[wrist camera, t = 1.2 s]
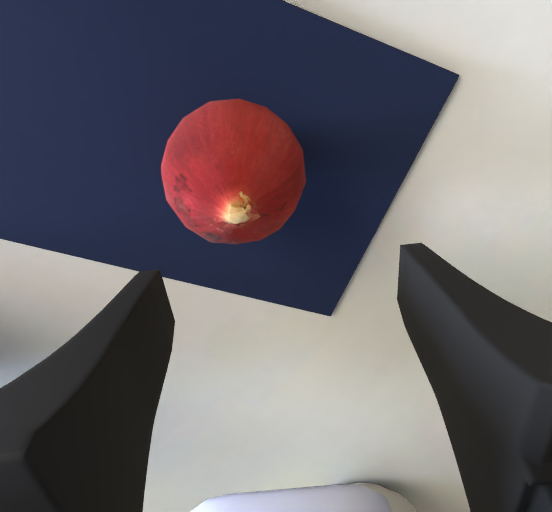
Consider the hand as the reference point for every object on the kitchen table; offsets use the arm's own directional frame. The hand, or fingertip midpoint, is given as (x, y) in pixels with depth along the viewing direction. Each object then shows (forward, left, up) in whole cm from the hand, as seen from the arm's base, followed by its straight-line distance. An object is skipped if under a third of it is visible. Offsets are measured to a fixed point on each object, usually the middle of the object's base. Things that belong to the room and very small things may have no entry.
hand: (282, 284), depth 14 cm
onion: (-2, 0, -11) cm, 11 cm away
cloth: (-3, -1, -11) cm, 11 cm away
